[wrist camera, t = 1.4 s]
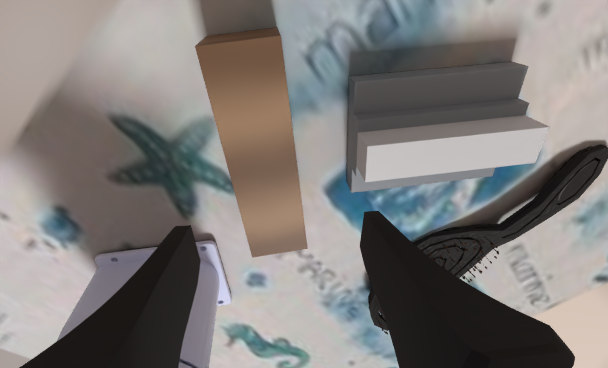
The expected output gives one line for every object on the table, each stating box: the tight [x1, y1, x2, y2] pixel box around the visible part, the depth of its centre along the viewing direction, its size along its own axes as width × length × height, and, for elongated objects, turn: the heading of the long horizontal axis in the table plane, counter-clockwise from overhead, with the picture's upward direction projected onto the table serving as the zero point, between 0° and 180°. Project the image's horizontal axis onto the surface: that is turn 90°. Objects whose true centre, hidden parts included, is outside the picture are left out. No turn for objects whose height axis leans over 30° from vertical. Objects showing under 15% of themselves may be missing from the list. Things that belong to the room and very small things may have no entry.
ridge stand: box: [347, 62, 550, 193], centre depth 20 cm, size 11×8×4 cm
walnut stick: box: [195, 27, 308, 257], centre depth 20 cm, size 14×4×4 cm, turn 6°
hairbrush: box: [368, 145, 608, 335], centre depth 28 cm, size 8×4×25 cm
